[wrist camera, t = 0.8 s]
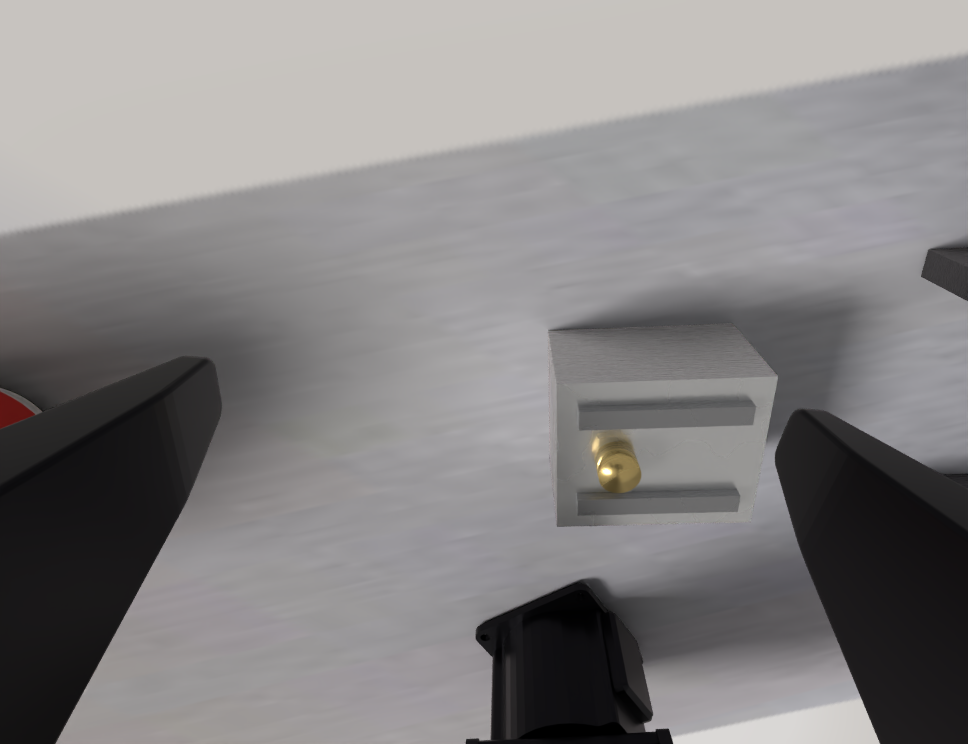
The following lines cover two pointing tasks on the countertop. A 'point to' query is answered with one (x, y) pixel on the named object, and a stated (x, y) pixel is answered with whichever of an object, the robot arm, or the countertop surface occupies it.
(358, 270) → the countertop surface
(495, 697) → the robot arm
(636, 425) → the block
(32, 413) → the beverage can
